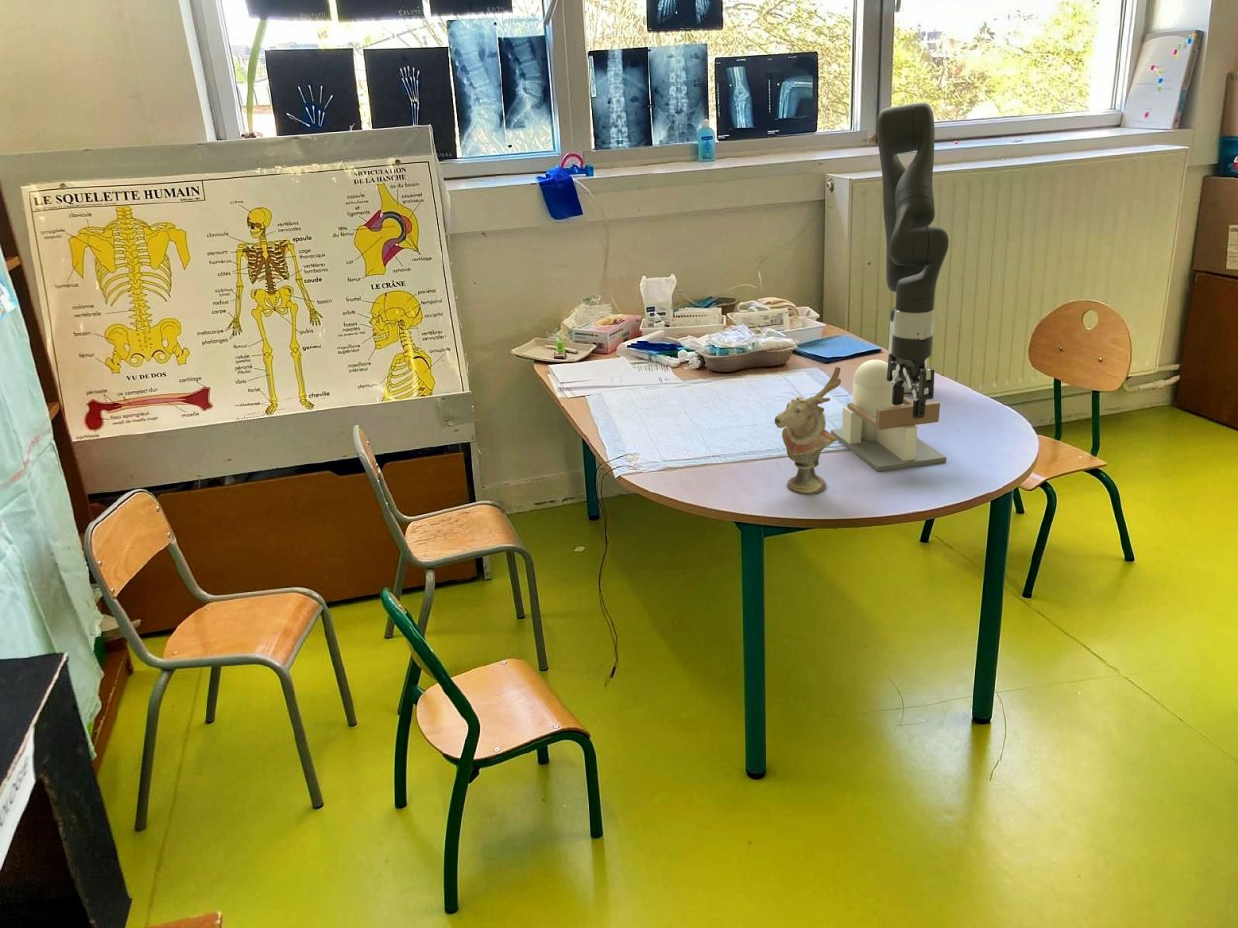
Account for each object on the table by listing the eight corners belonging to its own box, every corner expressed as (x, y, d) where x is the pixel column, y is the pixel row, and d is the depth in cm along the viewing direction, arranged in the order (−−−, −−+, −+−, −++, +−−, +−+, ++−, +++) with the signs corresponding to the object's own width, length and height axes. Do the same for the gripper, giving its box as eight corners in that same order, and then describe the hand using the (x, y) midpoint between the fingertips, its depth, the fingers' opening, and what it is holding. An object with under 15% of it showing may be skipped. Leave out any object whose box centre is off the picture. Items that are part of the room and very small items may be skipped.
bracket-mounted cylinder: (830, 434, 206) (833, 358, 199) (893, 425, 208) (897, 350, 202) (877, 471, 185) (881, 388, 179) (945, 461, 188) (952, 379, 181)
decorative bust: (763, 495, 175) (780, 365, 168) (778, 477, 187) (795, 355, 179) (820, 506, 171) (840, 374, 164) (832, 488, 183) (852, 364, 175)
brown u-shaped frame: (847, 407, 198) (847, 389, 196) (903, 400, 200) (904, 382, 198) (878, 430, 184) (879, 411, 183) (938, 421, 187) (939, 403, 185)
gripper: (877, 325, 185) (874, 402, 191) (913, 343, 172) (907, 424, 178) (912, 321, 186) (907, 398, 192) (950, 338, 173) (943, 420, 179)
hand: (907, 411), depth 185 cm, fingers open, 8 cm apart
